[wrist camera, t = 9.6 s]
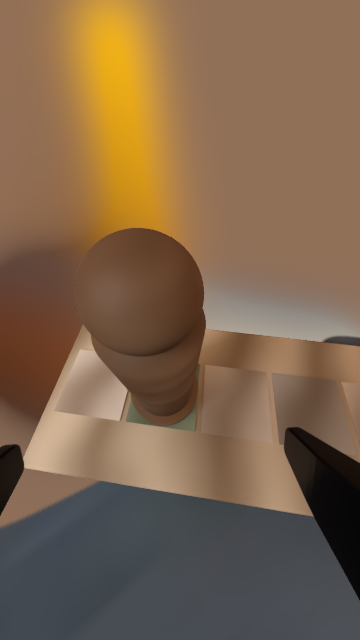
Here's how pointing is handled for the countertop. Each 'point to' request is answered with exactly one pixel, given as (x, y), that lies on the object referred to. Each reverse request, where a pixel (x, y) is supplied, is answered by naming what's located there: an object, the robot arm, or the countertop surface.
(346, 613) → the countertop surface
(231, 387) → the track board
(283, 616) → the countertop surface
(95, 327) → the pawn
